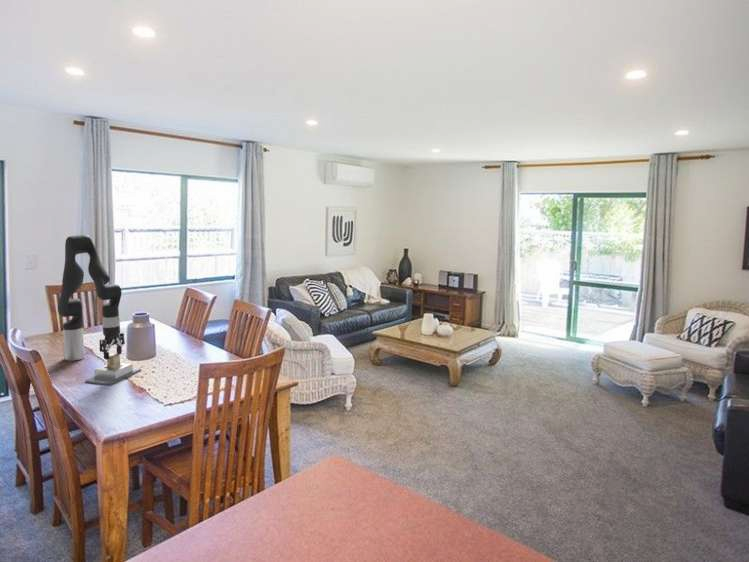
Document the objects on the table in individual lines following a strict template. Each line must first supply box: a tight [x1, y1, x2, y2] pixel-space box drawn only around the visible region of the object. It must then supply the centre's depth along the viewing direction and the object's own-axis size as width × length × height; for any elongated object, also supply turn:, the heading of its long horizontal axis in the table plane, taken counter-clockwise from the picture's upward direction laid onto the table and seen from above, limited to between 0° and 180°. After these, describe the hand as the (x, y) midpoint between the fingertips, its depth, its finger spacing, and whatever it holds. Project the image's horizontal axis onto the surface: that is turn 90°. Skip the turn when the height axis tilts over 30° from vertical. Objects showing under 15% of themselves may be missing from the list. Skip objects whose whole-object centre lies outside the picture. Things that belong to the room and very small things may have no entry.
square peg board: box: [84, 362, 142, 386], centre depth 248 cm, size 14×22×5 cm, turn 168°
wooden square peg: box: [106, 353, 121, 369], centre depth 247 cm, size 4×4×10 cm
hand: (113, 356), depth 247 cm, fingers open, 8 cm apart
